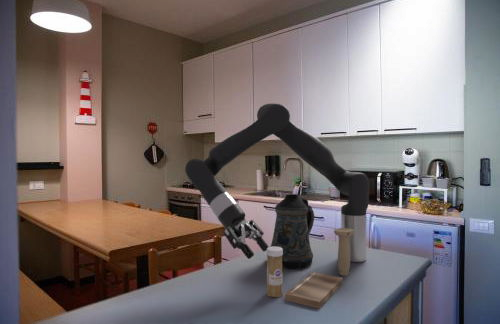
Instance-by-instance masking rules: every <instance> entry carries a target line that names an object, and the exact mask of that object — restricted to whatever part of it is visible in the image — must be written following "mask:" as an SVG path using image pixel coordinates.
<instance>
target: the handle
mask: <svg viewBox="0 0 500 324" xmlns="http://www.w3.org/2000/svg"><path fill="white" fill-rule="evenodd" d="M333 233H334V235H336V236H338V248H337V249H338V251H337V266H338V273H339V275H340V276H344V277H347V276H348V275H350V268H351V261H350V247H349V237H350V236H351V235H353V234H354V230H353V229H350V228H341V227H339V228H335V229H334V230H333Z"/></svg>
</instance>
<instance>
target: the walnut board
mask: <svg viewBox="0 0 500 324" xmlns="http://www.w3.org/2000/svg"><path fill="white" fill-rule="evenodd" d="M343 278H344V277H341V276H335V275H329V274H325V273H319V272H314V271H312V272H310V273H309V274H308V275H306V276H305V277H304V278H303V279H302V280H300V281H299V282H298V283H297V284H295V285H294V286H292V287H291V288H290V289H289V290H287V291H286V292H285V293H284V300H285V301H288V302H292V303H296V304H301V305H303V306H307V307H312V308H315V309H319V310H320V309H321V308H322V306H324V305H325V304H326V302H327V301H328V300H329V299H330V298H331V297H332V296H333V295H334V294H335V293H336V292H337V291H338V289H340V287H341V286H342V285H343V282H344V279H343Z"/></svg>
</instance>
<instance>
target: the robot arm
mask: <svg viewBox="0 0 500 324" xmlns="http://www.w3.org/2000/svg"><path fill="white" fill-rule="evenodd" d="M256 118H257V120H255V121H254V122H253V123H252V124H250V125H249V126H247V127H246V128H244V129H242V130H240V131H237V133H234V134H232V135H230V136H229V137H227V138H225V139H223V140H222V141H221V142H220V143H218V144H217V145H216V146H214V147H213V148H211V149H210V150H209V151H208V157H206V159H204V160H202V159H200V158H191V159H189V160H188V161H187V163H186V164H185V169H184V170H185V171H184V172H185V174H186V176H187V178H188V179H189V180H190V181H191V183H193V185H194V186H195V188H196V189H197V190H198V191H199V192H200V194H201V196H202V197H203V199H204V200H205V202H206V203H207V205H208V206H209V207H210V209H211V211H212V213H213V214H214V216H215V217H216V218H217V220H218V221H219V222H220V224H221V225H222V227H224V229H225V230H224V231H223V233H222V234H223V235H224V236H225V237H226V240H227V241H228V242H229V244H230V245H231V247H232V248H233V249H234V250H235V249H238V250H241V252H242V253H243V254H244V256H245V257H246V258H247V259H249V260H250V259H252V258H253V257H254V256H255V253H254V251H253V250H252V249H251V247H250V246H249V245H248V243H246V239H249V240H253V241H254V242H256V244H257V245H258V246H259V248H260V249H261V251H262V252H267V248H268V247H270V246H269V245H268V244H267V242H266V241H265V239H264V238H263V236H264V235H265V233H264V231H263V230H262V229H261V228H260V226H259V225H258V224H257V222H256V221H254V219H250V220H249V221H247V219H246V213H245V211H244V210H243V209H242V208H241V206H240V205H239V204H238V202H237V201H236V200H235V198H234V197H232V195H230V194H229V191H227V190H226V188H225V187H224V186H223V185H222V184H221V183H220V182H219V181H218V180H217V178H216V176H217V174H219V172H220V171H221V170H222V169H223V168H224V167H225V166H226V165H228V164H229V163H231V162H232V161H233V160H235V159H236V158H237V157H240V155H242V154H243V153H244V152H246V151H247V150H248V149H250V148H252V147H253V146H254V145H256V144H258V143H259V142H261V141H262V140H263V141H264V140H265V139H266V138H268V137H270V136H271V135H274V136H275V137H277V138H278V139H280V140H281V141H282V142H283V143H284V144H286V145H287V146H288V148H289V149H291V150H292V151H293V153H295V155H296V154H297V156H298V157H299V158H300V159H302V161H304V162H305V163H306V164H307V165H308V166H310V167H312V169H314V170H315V171H317V172H318V173H319V174H321V175H322V176H323V177H325V178H326V179H327V181H329V182H330V183H331V184H332V186H334V187H335V188H336V190H337V191H338V192H340V193H341V194H342V195H344V196H348V202H347V203H346V204H344V205H342V206H341V208H340V211H341V213H340V223H341V224H340V228H350V229H353V230H354V234H353V235H351V236H350V237H349V247H350V263H351V262H352V263H361V262H365V261H366V260H367V210H368V208H369V201H370V200H369V199H370V182H369V178H368V176H367V175H366V174H365V173H362V172H356V171H349V170H347V169H345V168H344V167H342V166H341V165H340V164H338V162H336V160H335V157H334V155H333V153H332V150H330V148H329V147H328V146H327V144H325V143H323V141H321V139H319V138H318V137H316V136H315V135H313V134H311V133H309V132H308V131H306V130H304V129H302V128H301V127H299V126H297V125H296V124H294V123H293V122H292V121H291V120H290V119H291V114H290V110H289V109H288V107H286V106H285V105H284V104H281V103H274V102H273V103H266V104H263V105H261V106H260V107H259V109H258V110H257V113H256Z"/></svg>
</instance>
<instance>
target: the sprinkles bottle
mask: <svg viewBox="0 0 500 324" xmlns="http://www.w3.org/2000/svg"><path fill="white" fill-rule="evenodd" d="M282 255H283V249H282V248H281V247H276V246H272V247H271V246H269V247H268V248H267V250H266V257H267V261H266V262H267V264H266V284H267V285H266V287H267V289H266V290H267V291H266V294H267V296H269V297H271V298H279V297H282V296H283V269H282Z"/></svg>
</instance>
